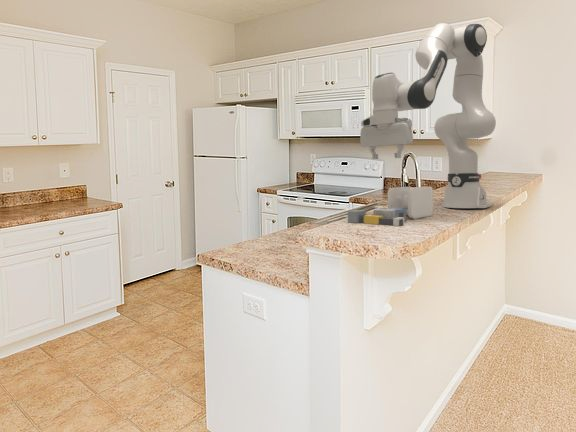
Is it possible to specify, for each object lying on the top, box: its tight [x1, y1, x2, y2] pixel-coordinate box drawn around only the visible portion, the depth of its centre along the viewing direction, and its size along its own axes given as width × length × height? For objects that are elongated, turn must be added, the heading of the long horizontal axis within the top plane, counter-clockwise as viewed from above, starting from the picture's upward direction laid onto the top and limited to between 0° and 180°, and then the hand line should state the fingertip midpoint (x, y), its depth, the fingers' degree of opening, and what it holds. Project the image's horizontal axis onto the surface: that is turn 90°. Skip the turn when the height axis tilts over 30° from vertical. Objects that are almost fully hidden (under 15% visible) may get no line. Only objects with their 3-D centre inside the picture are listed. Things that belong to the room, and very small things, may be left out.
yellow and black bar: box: [359, 214, 405, 227], centre depth 155 cm, size 4×16×3 cm, turn 44°
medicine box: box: [372, 207, 407, 222], centre depth 162 cm, size 8×4×9 cm
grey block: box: [347, 209, 367, 224], centre depth 162 cm, size 5×5×4 cm
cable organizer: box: [387, 186, 434, 220], centre depth 173 cm, size 15×11×12 cm
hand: (386, 158), depth 167 cm, fingers open, 8 cm apart
